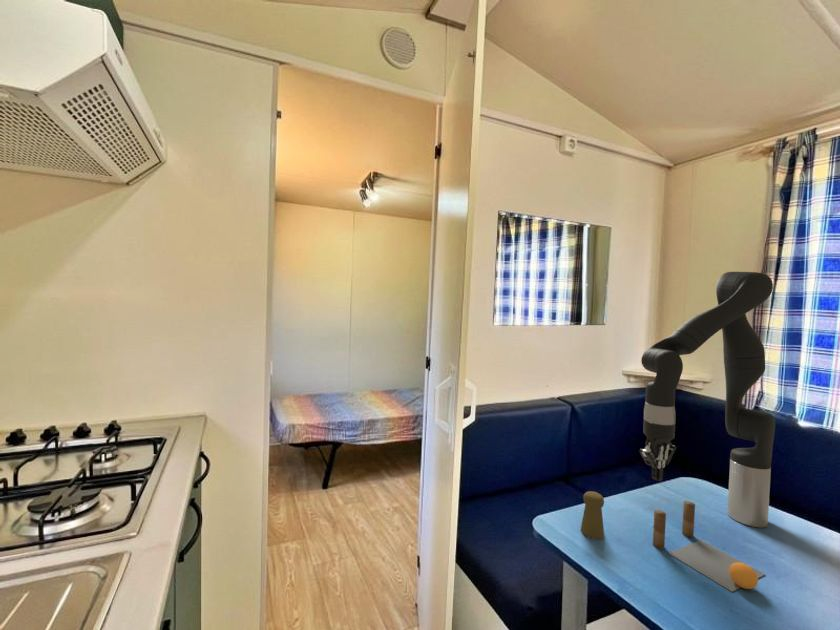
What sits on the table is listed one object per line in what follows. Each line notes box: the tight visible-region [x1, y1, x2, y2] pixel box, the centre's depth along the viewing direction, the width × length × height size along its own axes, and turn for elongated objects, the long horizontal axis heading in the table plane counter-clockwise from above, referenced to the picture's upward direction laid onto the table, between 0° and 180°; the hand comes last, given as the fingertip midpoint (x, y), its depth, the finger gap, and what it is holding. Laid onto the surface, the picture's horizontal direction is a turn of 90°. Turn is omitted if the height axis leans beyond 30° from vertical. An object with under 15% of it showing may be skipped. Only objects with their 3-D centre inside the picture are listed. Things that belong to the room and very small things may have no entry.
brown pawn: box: [580, 490, 605, 540], centre depth 104 cm, size 6×6×11 cm
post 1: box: [652, 509, 667, 550], centre depth 99 cm, size 3×3×9 cm
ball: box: [729, 562, 759, 590], centre depth 86 cm, size 5×5×5 cm
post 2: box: [681, 500, 696, 539], centre depth 105 cm, size 3×3×9 cm
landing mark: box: [668, 539, 766, 593], centre depth 93 cm, size 14×14×1 cm
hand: (656, 479), depth 107 cm, fingers closed
